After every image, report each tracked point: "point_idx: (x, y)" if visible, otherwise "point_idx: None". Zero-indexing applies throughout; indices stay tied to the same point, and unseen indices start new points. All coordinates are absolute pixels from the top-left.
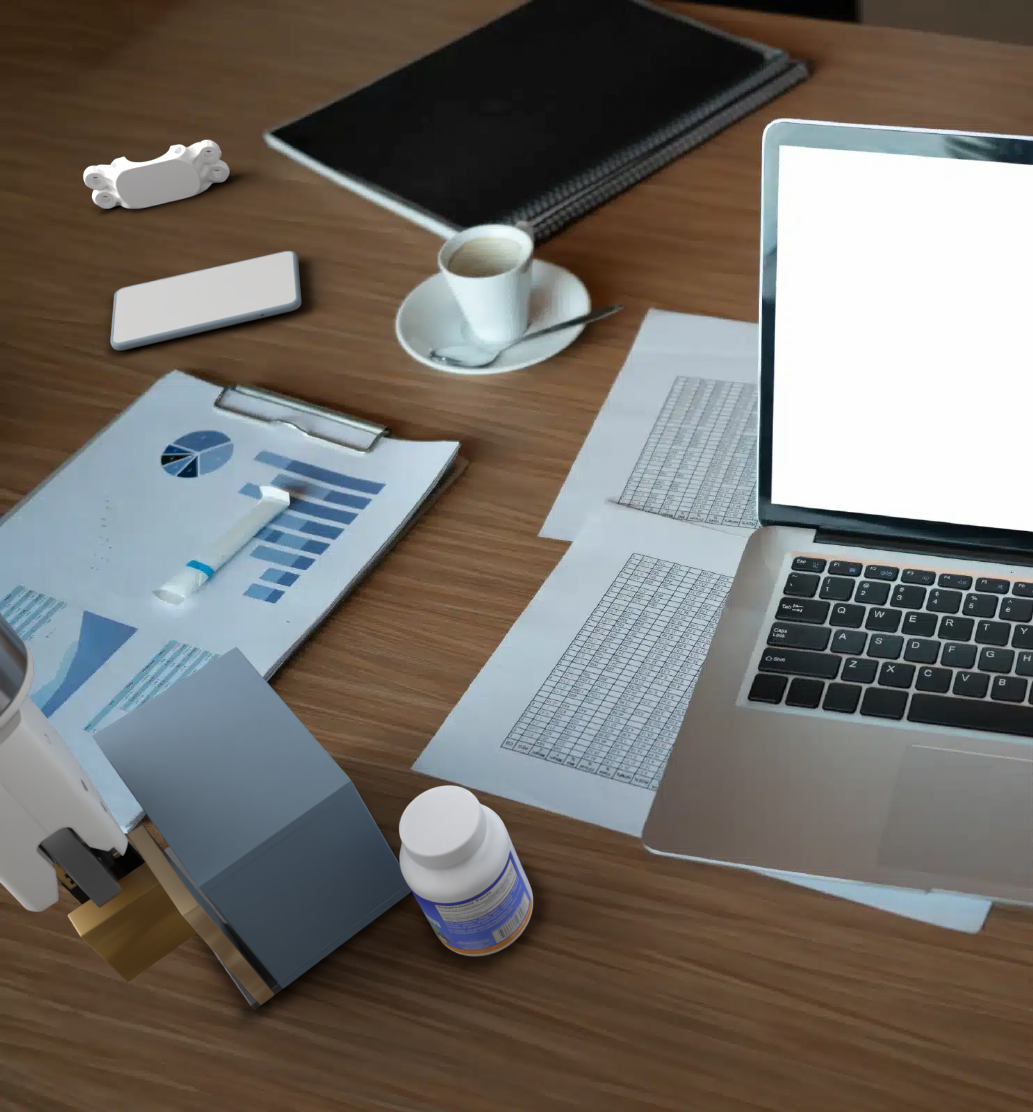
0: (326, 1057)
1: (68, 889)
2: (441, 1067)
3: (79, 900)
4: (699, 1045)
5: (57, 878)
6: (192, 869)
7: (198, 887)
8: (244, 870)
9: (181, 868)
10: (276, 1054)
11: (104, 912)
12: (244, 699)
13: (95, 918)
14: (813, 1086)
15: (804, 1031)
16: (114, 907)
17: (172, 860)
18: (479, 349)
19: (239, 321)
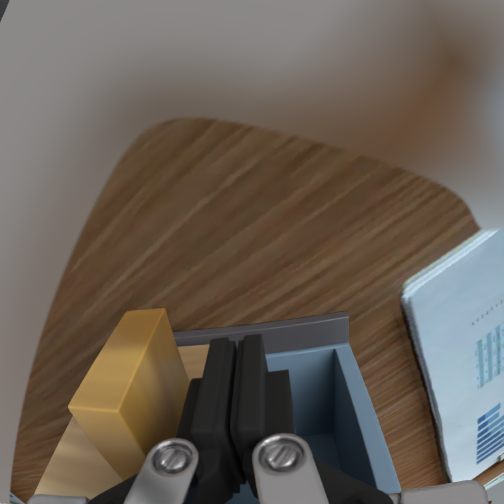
0: (65, 354)
1: (194, 413)
2: (43, 393)
3: (202, 380)
4: (36, 452)
5: (207, 431)
6: None
7: (276, 346)
8: None
9: (312, 340)
10: (78, 331)
11: (98, 441)
12: None
13: (94, 430)
14: (17, 456)
15: (37, 468)
16: (104, 449)
17: (329, 334)
18: (487, 487)
19: None
